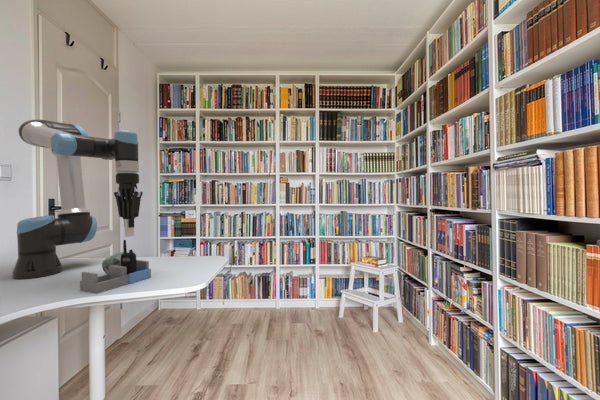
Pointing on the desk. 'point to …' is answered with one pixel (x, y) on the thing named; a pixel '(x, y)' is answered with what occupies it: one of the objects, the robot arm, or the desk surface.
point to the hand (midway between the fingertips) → (129, 236)
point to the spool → (112, 261)
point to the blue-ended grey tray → (114, 277)
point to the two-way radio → (128, 260)
